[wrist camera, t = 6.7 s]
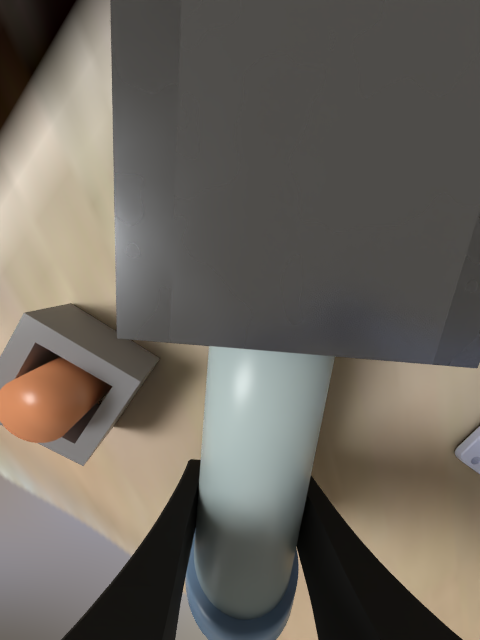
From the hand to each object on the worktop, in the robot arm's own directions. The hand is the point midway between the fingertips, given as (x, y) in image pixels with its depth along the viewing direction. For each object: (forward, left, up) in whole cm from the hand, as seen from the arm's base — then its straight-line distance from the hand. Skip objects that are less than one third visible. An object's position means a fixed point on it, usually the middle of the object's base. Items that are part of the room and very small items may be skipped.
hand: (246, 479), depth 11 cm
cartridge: (+2, -4, -1) cm, 4 cm away
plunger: (+9, 0, -1) cm, 9 cm away
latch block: (+9, 0, -2) cm, 9 cm away
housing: (+6, -11, -2) cm, 13 cm away
